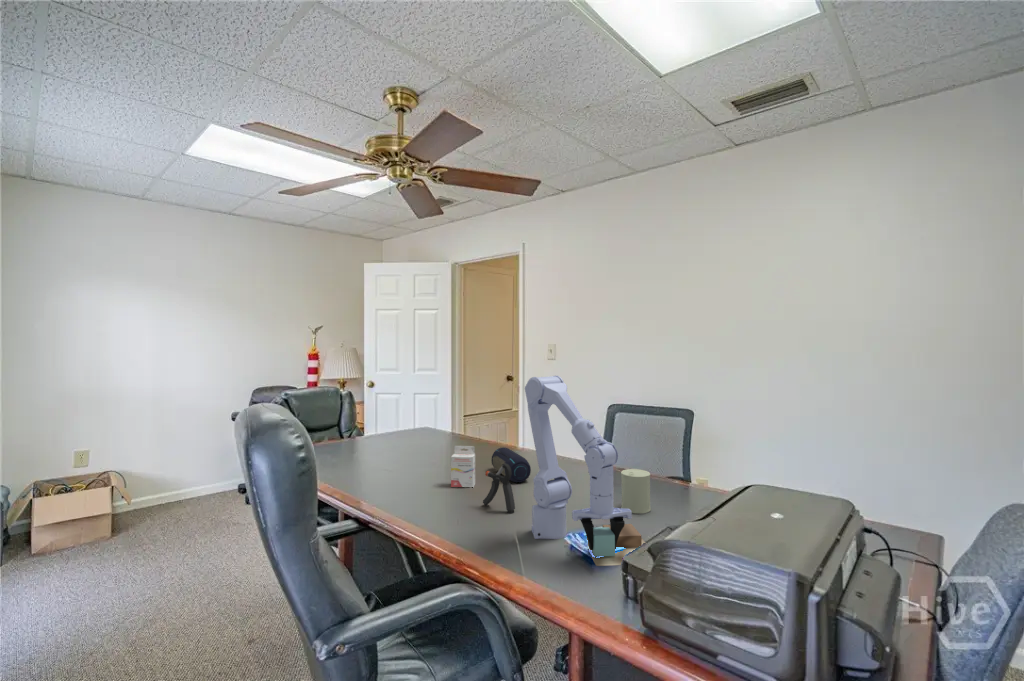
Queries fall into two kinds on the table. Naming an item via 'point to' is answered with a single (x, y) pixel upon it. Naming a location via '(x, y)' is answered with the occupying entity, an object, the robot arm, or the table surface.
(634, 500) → the can
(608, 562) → the birch board
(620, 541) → the walnut base
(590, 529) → the robot arm
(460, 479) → the ink cartridge box
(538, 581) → the table surface
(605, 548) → the teal cube
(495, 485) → the hand grip strengthener
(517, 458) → the portable speaker
